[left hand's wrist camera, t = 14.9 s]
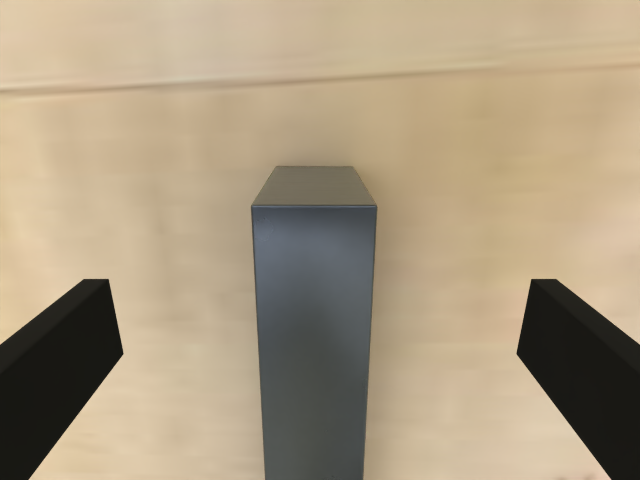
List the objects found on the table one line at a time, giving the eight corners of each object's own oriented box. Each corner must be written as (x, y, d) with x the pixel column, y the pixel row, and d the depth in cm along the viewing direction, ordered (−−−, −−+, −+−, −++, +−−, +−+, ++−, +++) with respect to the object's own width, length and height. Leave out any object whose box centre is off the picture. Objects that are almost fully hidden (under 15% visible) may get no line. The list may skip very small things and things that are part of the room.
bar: (275, 166, 23) (250, 205, 14) (353, 166, 23) (377, 205, 14) (287, 566, 34) (278, 732, 25) (341, 565, 34) (350, 731, 25)
